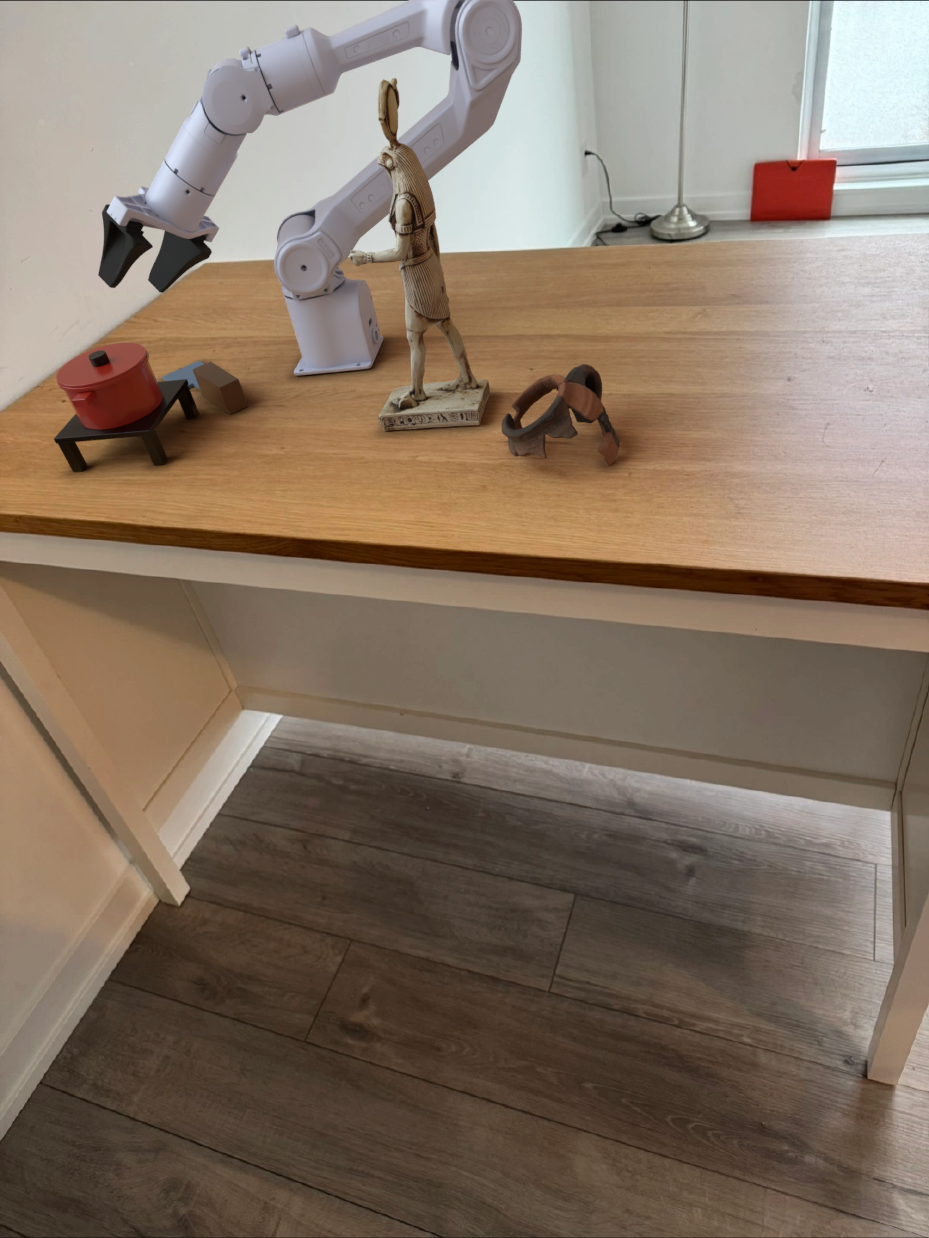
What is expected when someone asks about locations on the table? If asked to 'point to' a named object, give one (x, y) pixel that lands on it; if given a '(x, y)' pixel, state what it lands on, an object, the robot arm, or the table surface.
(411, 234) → the statue
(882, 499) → the table surface
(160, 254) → the robot arm
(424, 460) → the table surface
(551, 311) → the table surface
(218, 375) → the spatula
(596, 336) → the table surface
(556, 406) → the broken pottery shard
